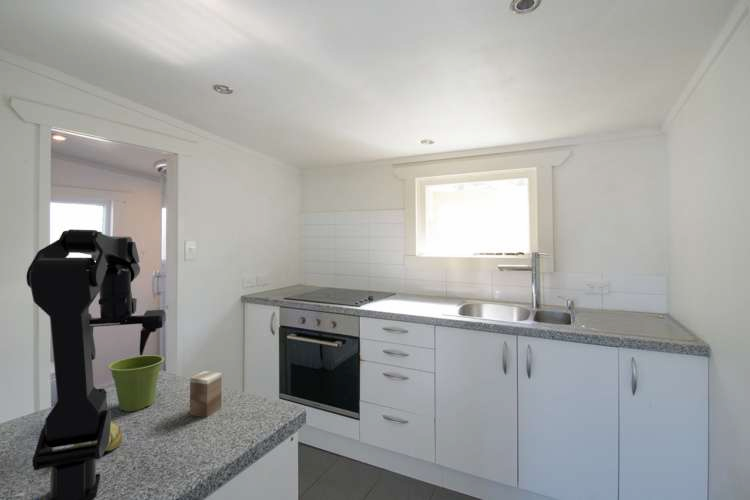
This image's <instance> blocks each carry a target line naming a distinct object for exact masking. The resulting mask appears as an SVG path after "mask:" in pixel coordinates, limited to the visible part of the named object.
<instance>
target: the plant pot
mask: <svg viewBox="0 0 750 500" xmlns="http://www.w3.org/2000/svg"><path fill="white" fill-rule="evenodd" d="M164 361H165V357H163V356H162V355H157V354H156V355H155V354H152V355H151V354H150V355H147V354H146V355H138V356H133V357H132V356H131V357H128V358H123V359H119V360H116V361H114V362H112V363H110V364H109V365H108V366H107V367H108V370H110V372H111V376H112V379H113V382H114V385H115V391H116V395H117V400H118V404H119V405H118V406H119V409H120V410H121V411H124V412H134V411H140V410H143V409H145V408H146V407H150V406H151V405H153V404H154V402H155V397H156V390H157V387H158V386H157V385H158V378H159V375H160V370H161V367H162V363H163V362H164Z"/></svg>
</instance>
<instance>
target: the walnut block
mask: <svg viewBox="0 0 750 500" xmlns="http://www.w3.org/2000/svg"><path fill="white" fill-rule="evenodd" d="M222 381H223V380H222V372H217V371H216V372H215V371H208V370H207V371H206V370H205V371H202V372H200V373H198V374H196V375H193V376H192V377H190V378H189V415H191V416H197V417H202V418H209V417H210V416H212V415H213V414H215V413H216V412H218V411H219V410H221V409H222Z"/></svg>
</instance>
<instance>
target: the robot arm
mask: <svg viewBox="0 0 750 500" xmlns="http://www.w3.org/2000/svg"><path fill="white" fill-rule="evenodd" d="M70 253H71V254H72V253H73V254H74V253H75V254H76V253H77V254H84V255H89V256H91V257H69V255H70ZM139 263H140V257H139V252H138V248H137V244H136V242H135V241H133V238H132V236H109V235H106V234H104V233H103V232H102V231H98V230H96V229H68V230H63V231H62V233H61V234H60V237H59V239H57V240H56V241H55V240H54V241H53V242H52V243H50V244H47V246H45V247H43V248H41V249H39V250H38V251H37V252H36V254H35V256H34V257H33V260H32V261H31V263H30V265H29V267H28V268H27V271H26V284H27V286H28V287H29V288H30V290H31V295H32V300H33V303H34V304H36V306H37V307H39V308H40V309H41V310H42V311H43V313H45V314H46V315H47V316H48V317H49V321H50V333H51V344H52V356H53V357H52V358H53V365H54V366H53V367H54V378H55V387H56V388H55V389H56V400H57V401H56V403H55V405H53V407H52V409H51V410H50V411H49V414H48V415H47V416H46V417H45V422H44V425H43V427H42V428H41V430H40V433H39V437H38V440H37V444H36V449H35V450H34V451H35V452H34V455H33V457H32V463H31V464H32V467H33V471H40V470H42V469H47V468H49V479H50V480H49V492H48V495H47V498H46V499H45V500H94V499H95V498H96V497H97V495H98V490H99V485H100V481H101V474H100V473H97V471H96V469H97V463H96V462H97V460H99V459H101V458H102V457H103V455H104V454H105V452H106V451H105V450H106V448H107V446H108V444H109V436H110V426H111V421H112V410H111V409H109V406H108V405H109V404H108V401H107V400H108V398H107V397H108V395H107V394H108V393H107V391H106V390H105V388H96V387H95V384H94V369H93V361H95V359H96V346H95V339H94V329H95V328H97V327H110V326H125V325H126V326H127V325H128V326H129V325H141V326H142V327H141V330H140V336H139V337H140V338H139V356H143V355H144V354H143V353H144V351H145V348H146V345H147V343H148V339H149V337H150V335H151V333H155V332H157V330H158V329H161V328H163V327H164V324H165V323H166V319H167V318H166V317H167V313H166V311H165V310H164V309H154V310H153V309H152V310H151V309H150V310H146V311H145V312H144V313H143V314H142V315H135V313H136V312H137V304H138V303H137V299H138V298H134V297H133V293H132V282H133V281H134V280H135V279H136V278H137V277H138V276H139V274H140V272H141V267H140V265H139ZM97 296H99V299H98V305H99V308H100V310H99V311H100V313H99V314H100V317H93V316H92V314H91V313H90V306H91V305H92V303H93V302H94V300H95V299H96V297H97ZM94 327H95V328H94ZM96 440H97V443H93V444H87V445H81V446H75V447H74V446H71V445H74V444H78V443H84V442H90V441H96ZM65 446H68V447H65ZM58 447H64V448H59V449H58ZM53 448H57V449H53ZM96 473H97V474H96Z"/></svg>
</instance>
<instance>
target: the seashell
mask: <svg viewBox="0 0 750 500" xmlns="http://www.w3.org/2000/svg"><path fill="white" fill-rule="evenodd" d="M122 432H123V431H122V428H121V427H120V425H119V424H118V423H116V422H115V421H112V420H111V426H110V436H109V444H108V446H107V448H106V450H105V452H110V451H113V450H116V449H117V448H118V447H119V446H121V444H122V442H123V434H122ZM93 443H97V440H96V441H90V442H84V443H78V444H73V447H75V446H81V445H87V444H93Z"/></svg>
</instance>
